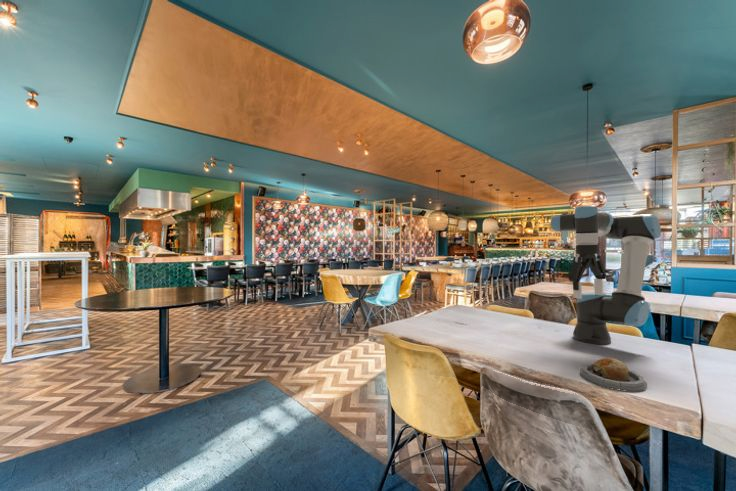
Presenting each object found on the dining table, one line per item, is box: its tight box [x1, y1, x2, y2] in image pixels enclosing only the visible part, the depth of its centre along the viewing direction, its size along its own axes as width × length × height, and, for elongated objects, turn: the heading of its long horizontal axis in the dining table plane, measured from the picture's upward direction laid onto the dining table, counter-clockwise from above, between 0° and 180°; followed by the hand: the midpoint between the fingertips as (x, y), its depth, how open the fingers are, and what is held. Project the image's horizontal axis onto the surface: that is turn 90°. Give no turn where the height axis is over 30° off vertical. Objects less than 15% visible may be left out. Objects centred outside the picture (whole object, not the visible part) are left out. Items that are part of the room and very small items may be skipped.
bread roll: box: [592, 357, 631, 382], centre depth 105 cm, size 10×10×8 cm
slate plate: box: [580, 363, 648, 392], centre depth 105 cm, size 18×18×2 cm
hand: (588, 296), depth 122 cm, fingers open, 13 cm apart
